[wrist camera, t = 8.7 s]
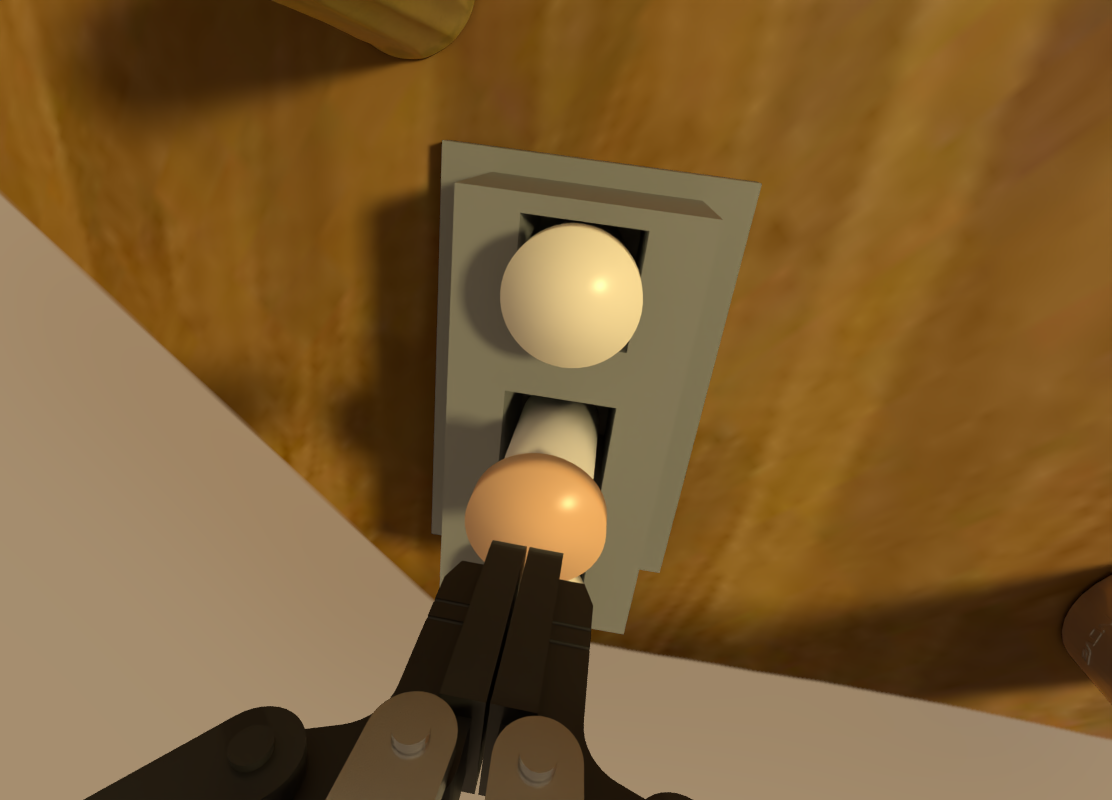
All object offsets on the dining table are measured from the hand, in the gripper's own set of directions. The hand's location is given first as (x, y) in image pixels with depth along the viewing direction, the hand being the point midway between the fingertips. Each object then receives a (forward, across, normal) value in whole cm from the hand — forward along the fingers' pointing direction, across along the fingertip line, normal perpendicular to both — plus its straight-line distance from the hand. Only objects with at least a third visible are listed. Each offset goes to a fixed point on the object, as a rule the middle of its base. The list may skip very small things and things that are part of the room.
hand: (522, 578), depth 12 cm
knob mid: (+14, 0, +4) cm, 15 cm away
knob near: (+18, 0, -3) cm, 18 cm away
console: (+19, 0, +4) cm, 19 cm away
